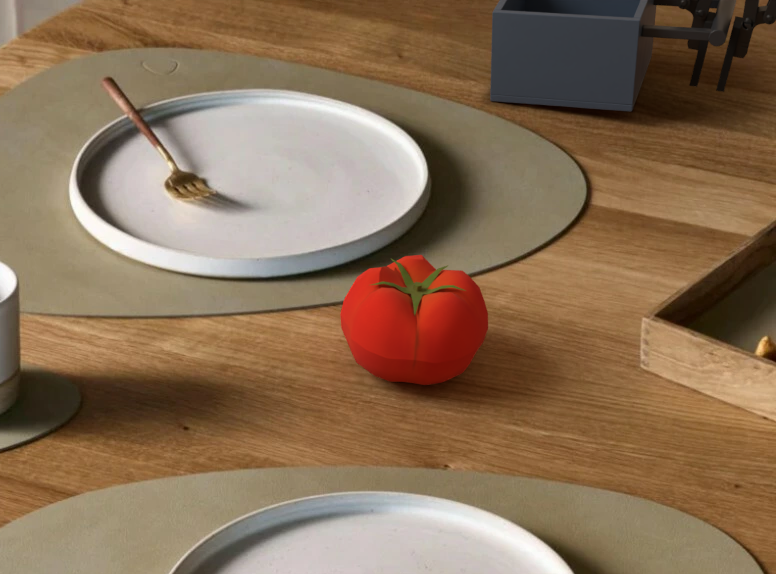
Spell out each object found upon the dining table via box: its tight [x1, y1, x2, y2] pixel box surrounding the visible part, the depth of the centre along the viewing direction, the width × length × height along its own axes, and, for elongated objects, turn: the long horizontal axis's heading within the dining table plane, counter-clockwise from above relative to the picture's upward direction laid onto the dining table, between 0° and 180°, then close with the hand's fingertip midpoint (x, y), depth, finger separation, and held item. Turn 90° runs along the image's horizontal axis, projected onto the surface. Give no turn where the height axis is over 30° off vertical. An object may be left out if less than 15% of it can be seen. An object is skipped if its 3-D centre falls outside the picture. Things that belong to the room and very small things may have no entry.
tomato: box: [339, 254, 489, 386], centre depth 113 cm, size 11×11×8 cm
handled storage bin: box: [489, 0, 737, 112], centre depth 150 cm, size 22×14×9 cm, turn 71°
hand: (708, 82), depth 150 cm, fingers closed
